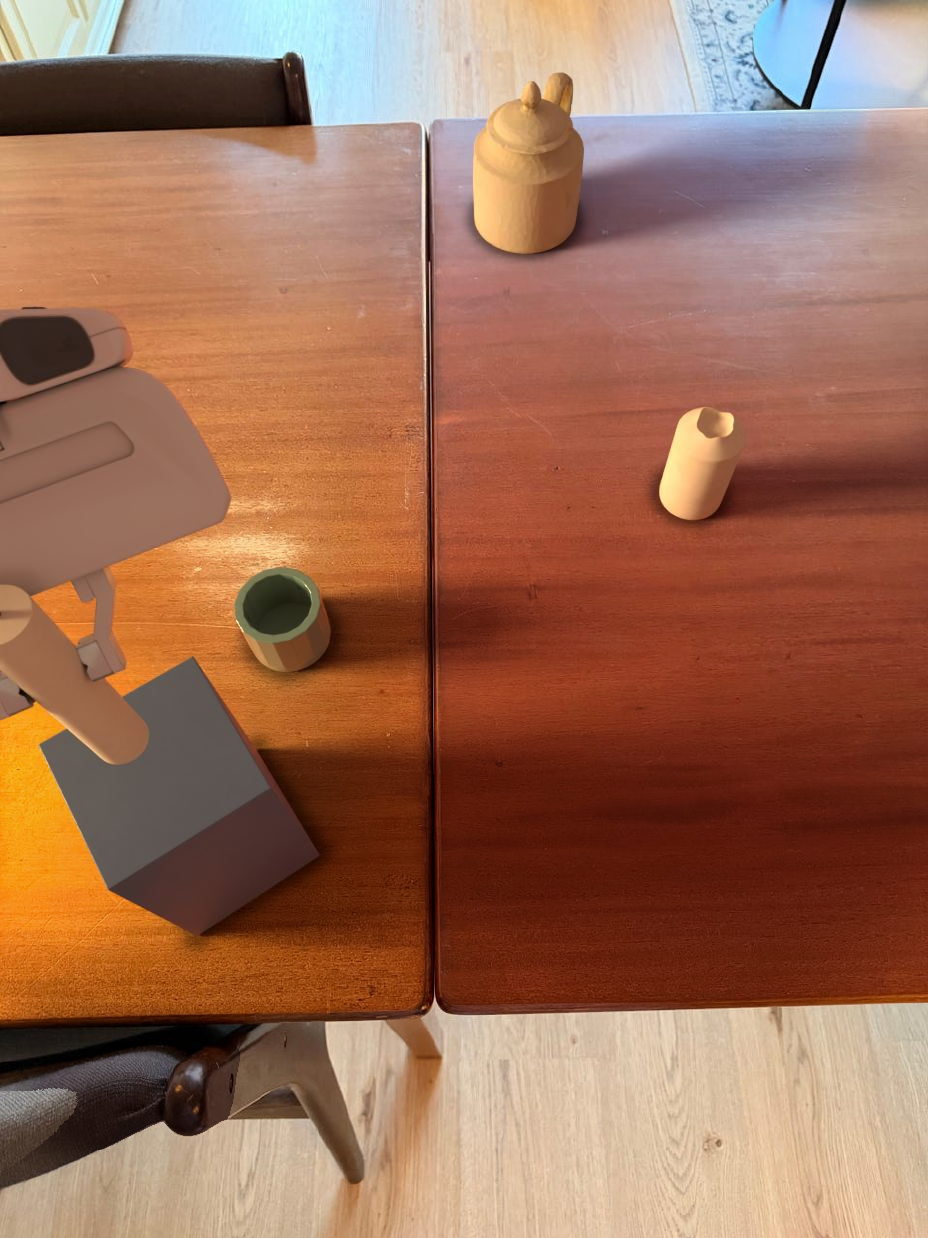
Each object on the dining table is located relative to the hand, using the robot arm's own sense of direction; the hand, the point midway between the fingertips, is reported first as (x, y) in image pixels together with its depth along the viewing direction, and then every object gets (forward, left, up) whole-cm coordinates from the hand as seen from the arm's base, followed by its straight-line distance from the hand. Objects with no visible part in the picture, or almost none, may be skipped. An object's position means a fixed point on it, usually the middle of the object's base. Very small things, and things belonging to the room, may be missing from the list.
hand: (66, 691), depth 40 cm
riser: (0, +1, -29) cm, 30 cm away
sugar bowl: (+58, +44, -30) cm, 79 cm away
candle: (+48, +5, -30) cm, 57 cm away
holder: (+12, +13, -29) cm, 34 cm away
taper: (0, +1, -8) cm, 8 cm away
